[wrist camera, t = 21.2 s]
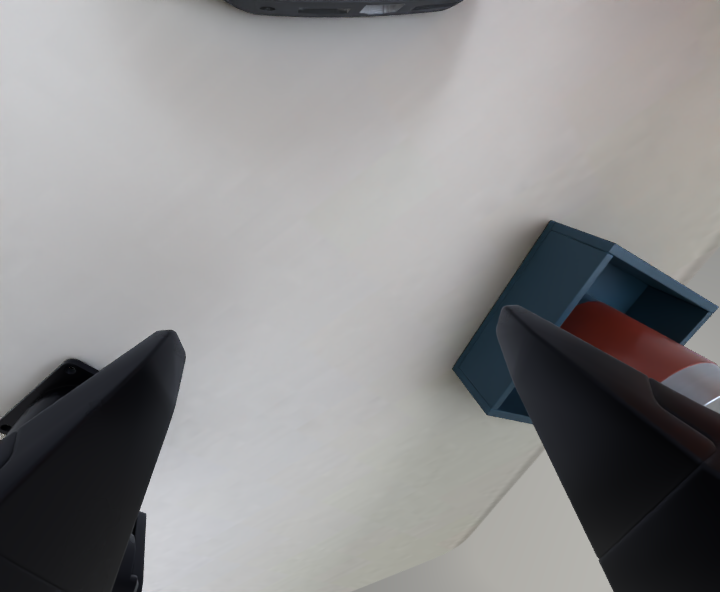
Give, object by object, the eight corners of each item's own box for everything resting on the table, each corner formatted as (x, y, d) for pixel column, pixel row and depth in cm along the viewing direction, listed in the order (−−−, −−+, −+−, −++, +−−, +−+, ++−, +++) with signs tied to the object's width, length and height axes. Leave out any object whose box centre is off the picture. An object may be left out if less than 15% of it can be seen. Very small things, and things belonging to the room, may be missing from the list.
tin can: (568, 360, 30) (708, 471, 21) (507, 358, 28) (632, 481, 19) (607, 293, 27) (788, 386, 18) (543, 285, 25) (710, 385, 16)
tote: (555, 396, 33) (599, 437, 29) (451, 368, 28) (486, 415, 23) (651, 278, 29) (719, 307, 24) (550, 219, 23) (615, 243, 19)
